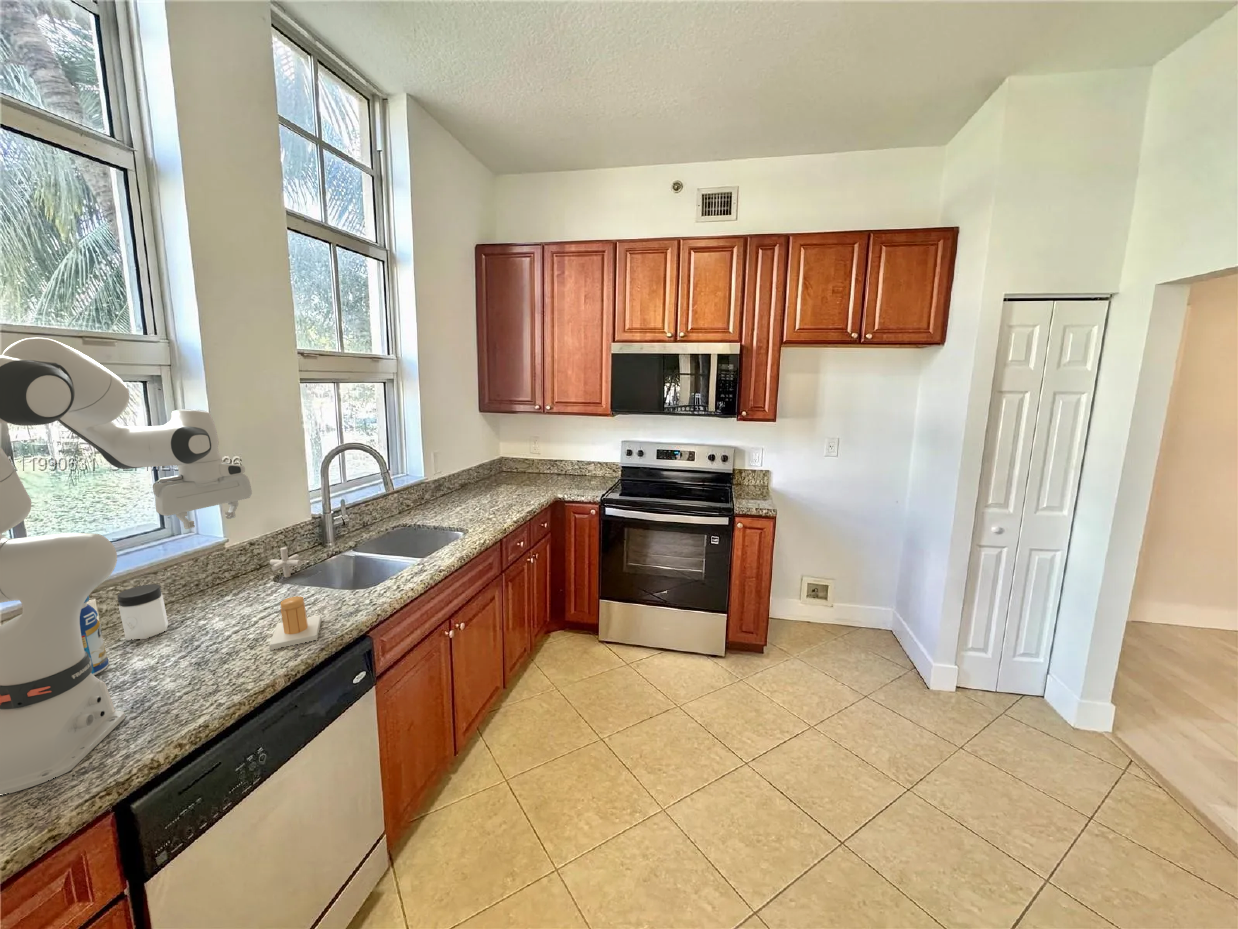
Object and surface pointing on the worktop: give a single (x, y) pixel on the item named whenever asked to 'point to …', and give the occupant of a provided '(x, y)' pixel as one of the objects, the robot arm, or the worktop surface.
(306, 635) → the board
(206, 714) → the worktop surface
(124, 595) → the jar
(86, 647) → the beverage bottle
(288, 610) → the fluted domed cylinder
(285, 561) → the pipe connector
